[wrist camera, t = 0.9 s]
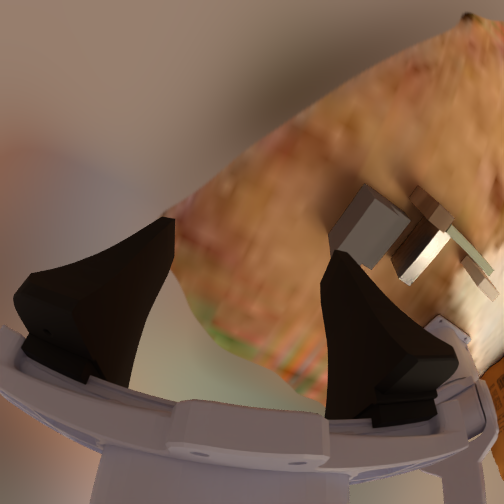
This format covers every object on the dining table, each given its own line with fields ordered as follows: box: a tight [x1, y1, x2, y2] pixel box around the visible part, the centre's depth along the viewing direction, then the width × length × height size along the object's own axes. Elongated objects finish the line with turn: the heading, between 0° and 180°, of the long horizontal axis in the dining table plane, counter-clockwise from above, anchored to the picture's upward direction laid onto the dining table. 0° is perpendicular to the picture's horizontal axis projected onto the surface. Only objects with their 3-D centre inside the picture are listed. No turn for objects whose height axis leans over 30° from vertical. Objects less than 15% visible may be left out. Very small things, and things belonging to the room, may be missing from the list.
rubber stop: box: [328, 183, 411, 270], centre depth 22 cm, size 5×6×4 cm
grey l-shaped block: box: [391, 216, 494, 286], centre depth 21 cm, size 8×7×4 cm
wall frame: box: [409, 186, 499, 302], centre depth 20 cm, size 15×2×5 cm, turn 55°
